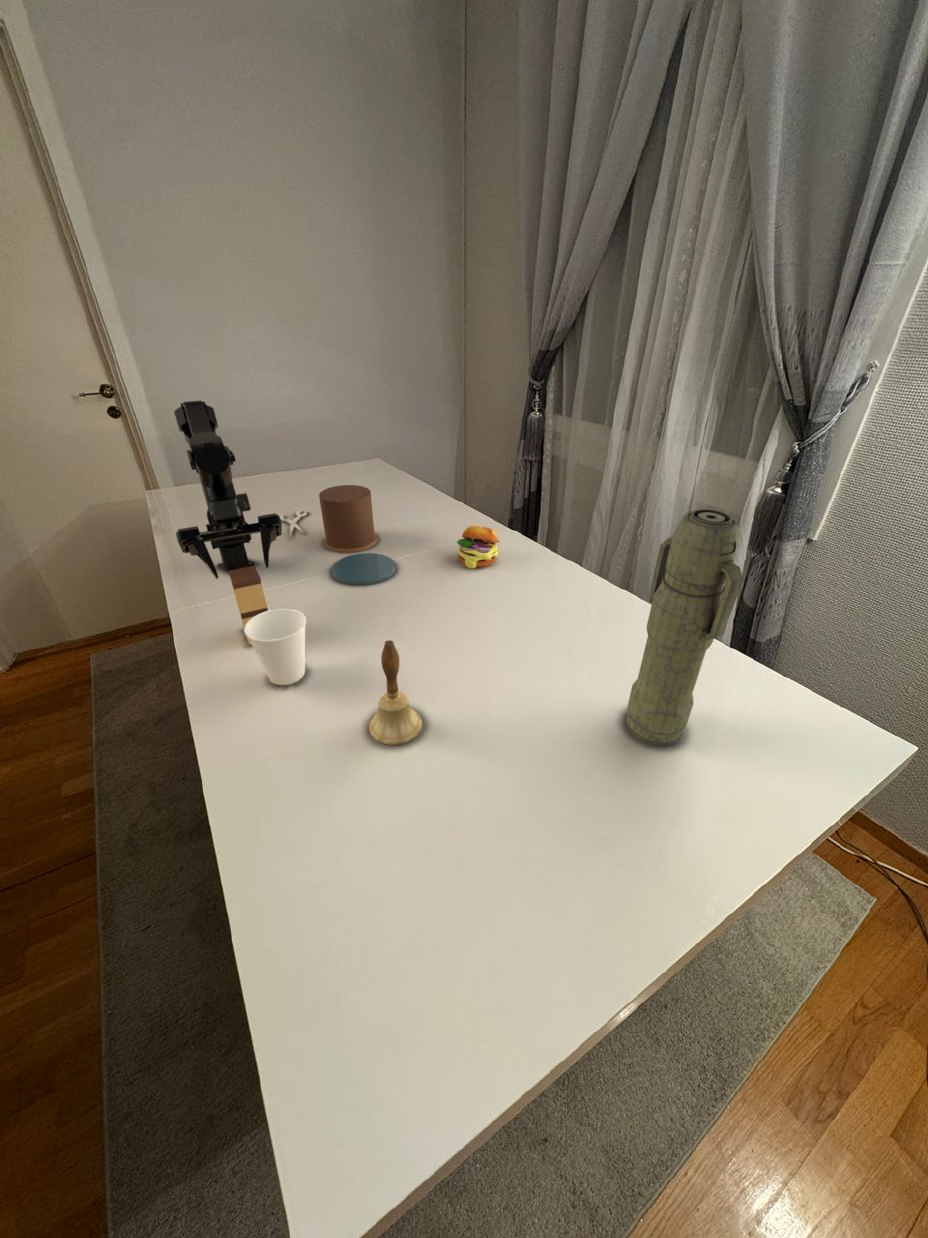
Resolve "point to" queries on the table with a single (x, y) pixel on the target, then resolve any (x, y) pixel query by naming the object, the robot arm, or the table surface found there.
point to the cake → (347, 518)
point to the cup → (279, 643)
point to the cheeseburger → (478, 546)
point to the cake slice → (248, 593)
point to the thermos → (683, 622)
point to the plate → (363, 569)
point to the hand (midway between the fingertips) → (242, 572)
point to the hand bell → (393, 706)
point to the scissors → (293, 522)
